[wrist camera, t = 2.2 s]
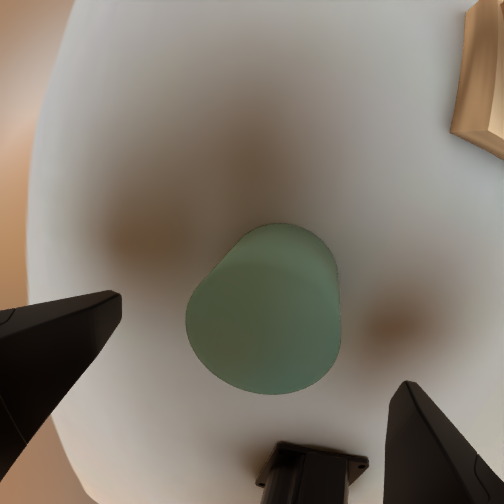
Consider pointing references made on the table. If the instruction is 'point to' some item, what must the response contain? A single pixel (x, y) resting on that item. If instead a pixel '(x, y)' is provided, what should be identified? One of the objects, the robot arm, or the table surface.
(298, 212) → the table surface
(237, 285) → the sage green cylinder
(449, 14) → the table surface
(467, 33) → the tower base
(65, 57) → the table surface
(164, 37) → the table surface
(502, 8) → the tower top
